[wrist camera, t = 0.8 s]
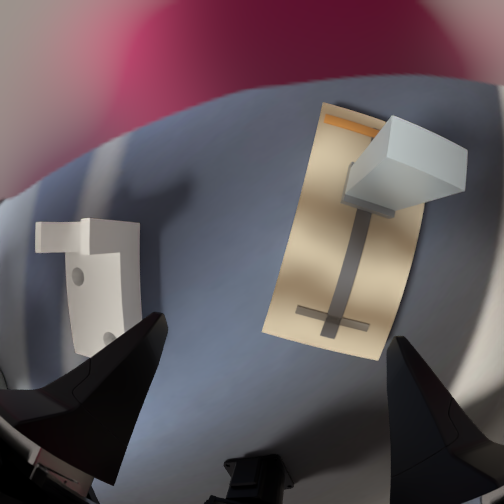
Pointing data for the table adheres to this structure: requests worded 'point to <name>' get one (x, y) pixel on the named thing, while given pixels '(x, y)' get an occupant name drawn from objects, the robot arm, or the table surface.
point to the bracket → (97, 277)
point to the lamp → (2, 382)
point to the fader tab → (404, 170)
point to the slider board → (342, 251)
